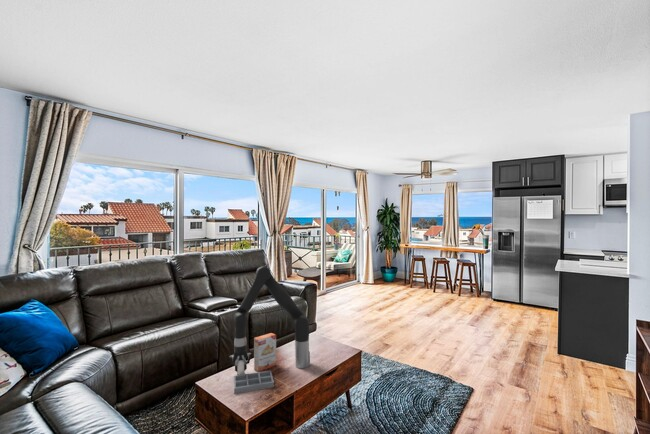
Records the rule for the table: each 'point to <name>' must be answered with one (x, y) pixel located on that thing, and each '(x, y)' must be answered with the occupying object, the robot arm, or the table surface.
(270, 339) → the cracker box
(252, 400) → the table surface
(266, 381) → the egg tray
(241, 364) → the egg
